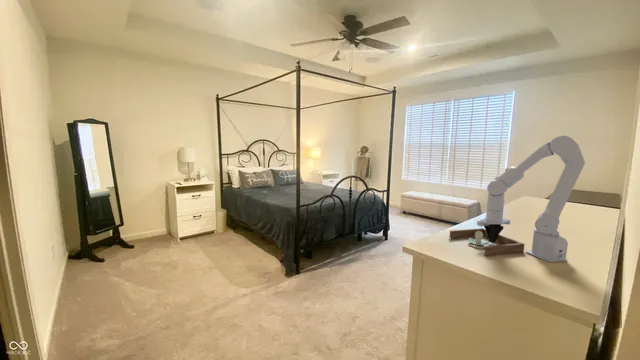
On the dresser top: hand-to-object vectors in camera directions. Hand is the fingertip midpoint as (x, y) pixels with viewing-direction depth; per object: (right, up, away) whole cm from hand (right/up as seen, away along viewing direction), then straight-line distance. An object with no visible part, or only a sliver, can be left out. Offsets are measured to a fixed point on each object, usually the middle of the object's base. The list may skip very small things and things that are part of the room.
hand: (492, 241), depth 113 cm
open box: (-4, -1, -1) cm, 4 cm away
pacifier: (-7, -2, -2) cm, 8 cm away
